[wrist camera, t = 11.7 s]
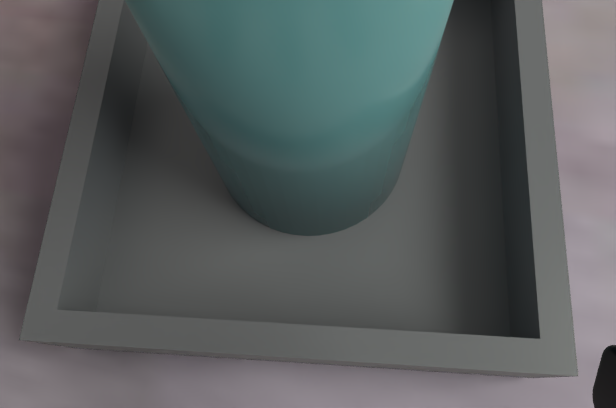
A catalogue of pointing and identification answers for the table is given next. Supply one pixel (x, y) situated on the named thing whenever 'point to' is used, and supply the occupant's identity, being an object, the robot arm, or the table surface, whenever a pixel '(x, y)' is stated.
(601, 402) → the robot arm
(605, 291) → the table surface
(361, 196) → the teal cylinder
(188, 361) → the table surface
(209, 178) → the tray
